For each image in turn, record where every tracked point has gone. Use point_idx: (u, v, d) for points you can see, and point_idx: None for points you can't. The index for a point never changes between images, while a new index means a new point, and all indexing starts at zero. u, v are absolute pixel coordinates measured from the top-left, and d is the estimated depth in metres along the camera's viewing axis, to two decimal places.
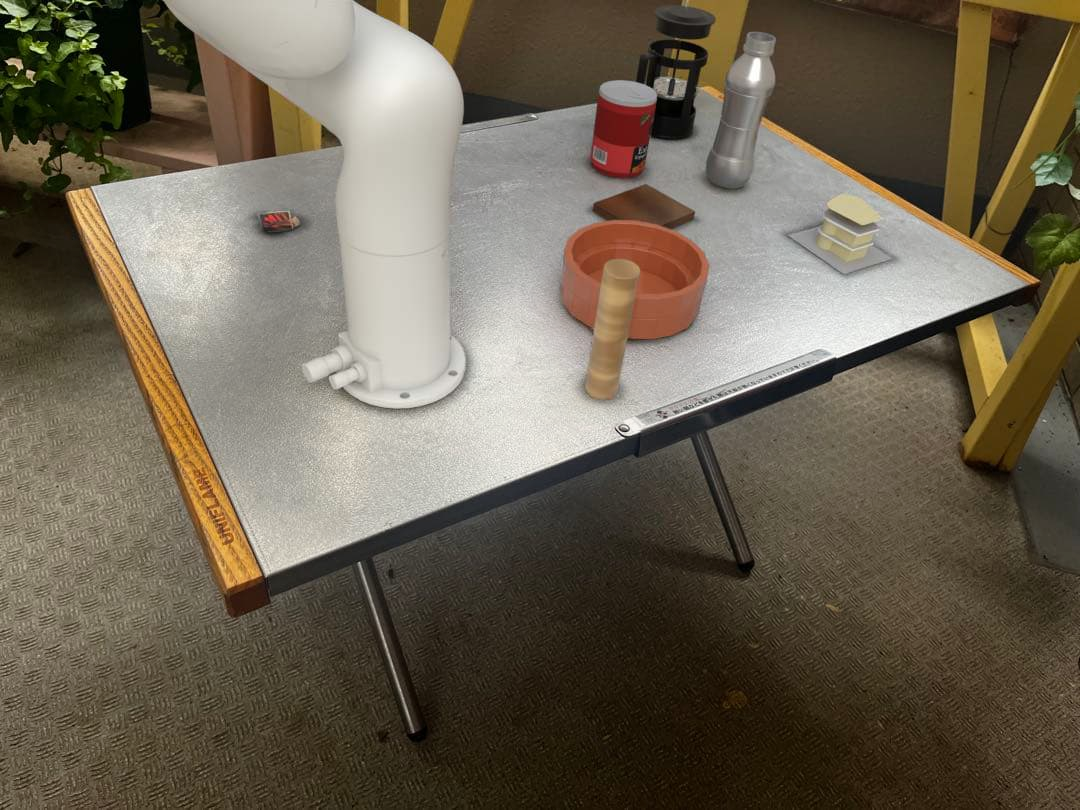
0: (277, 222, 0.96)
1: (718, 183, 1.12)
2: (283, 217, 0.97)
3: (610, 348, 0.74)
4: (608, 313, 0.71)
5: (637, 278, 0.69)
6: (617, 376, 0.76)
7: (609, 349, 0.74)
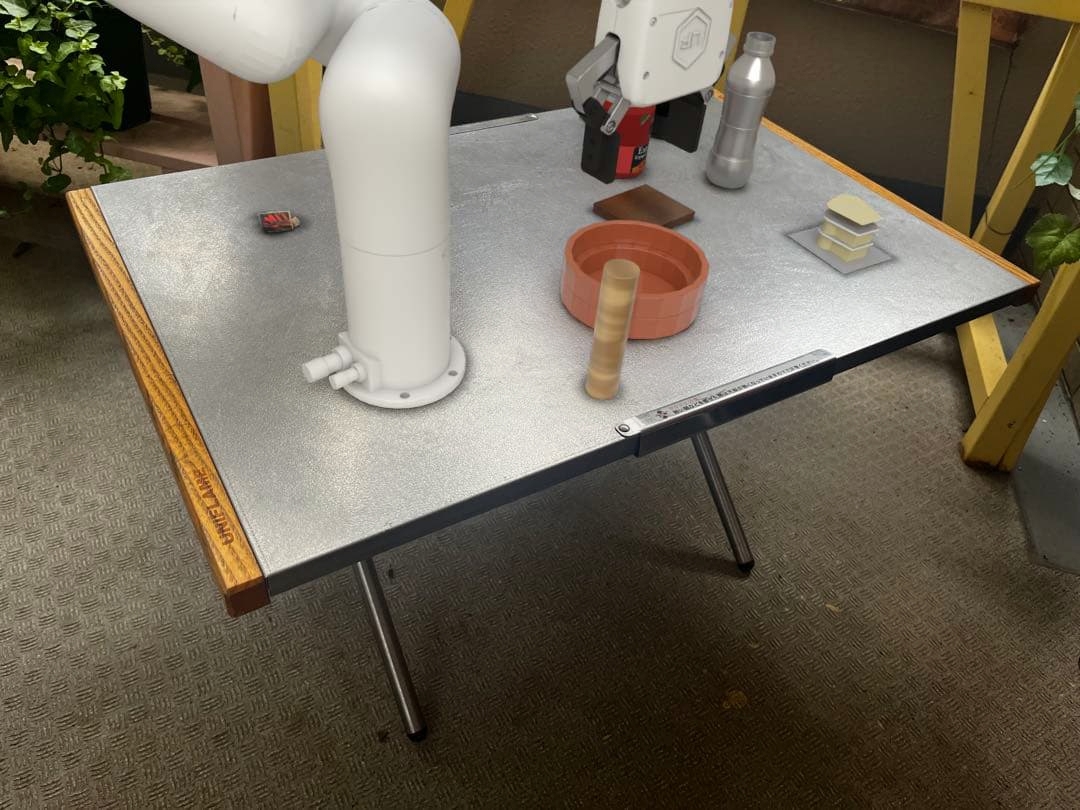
0: (277, 222, 0.96)
1: (718, 183, 1.12)
2: (283, 217, 0.97)
3: (610, 348, 0.74)
4: (608, 313, 0.71)
5: (637, 278, 0.69)
6: (617, 376, 0.76)
7: (609, 349, 0.74)
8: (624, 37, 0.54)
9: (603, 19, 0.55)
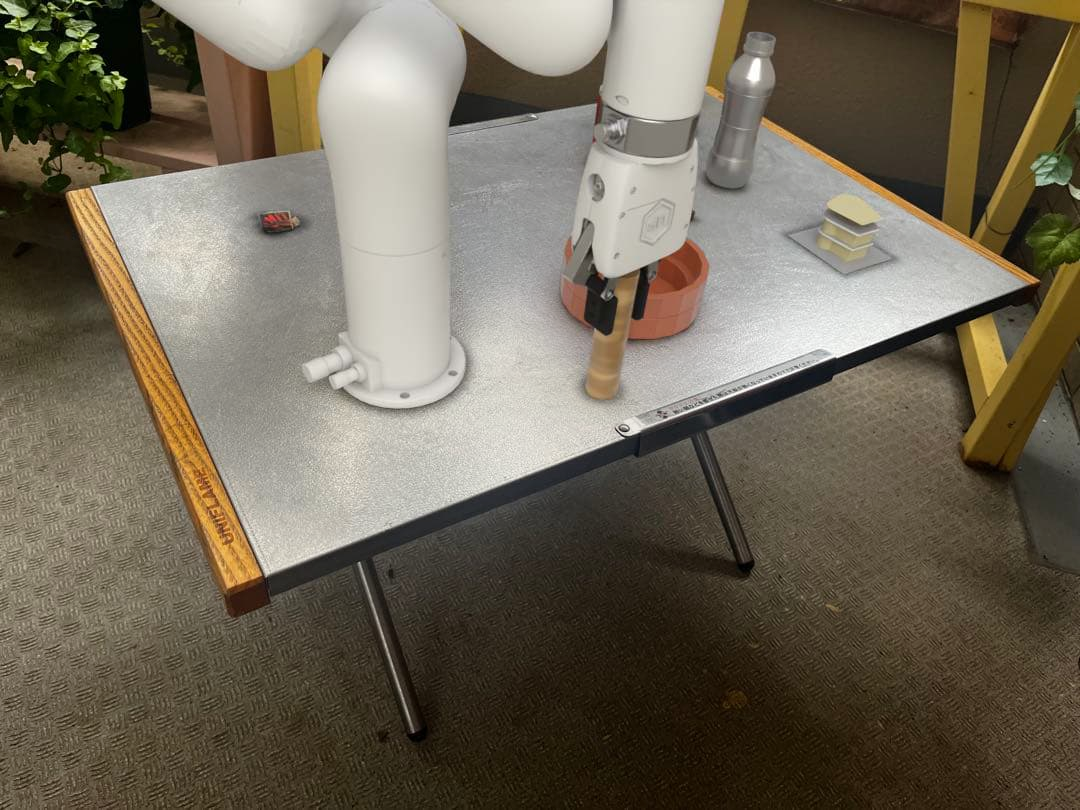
0: (277, 222, 0.96)
1: (718, 183, 1.12)
2: (283, 217, 0.97)
3: (610, 348, 0.74)
4: None
5: (637, 278, 0.69)
6: (617, 376, 0.76)
7: (609, 349, 0.74)
8: (597, 225, 0.62)
9: (580, 206, 0.63)
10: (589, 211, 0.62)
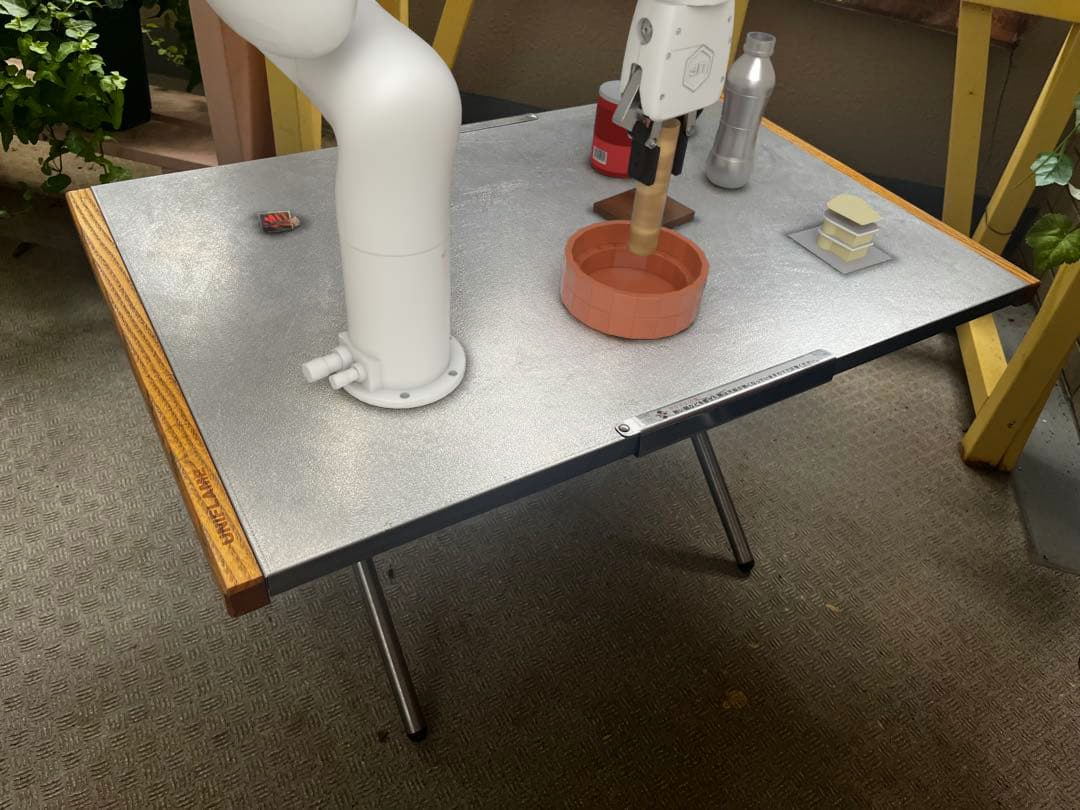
0: (277, 222, 0.96)
1: (718, 183, 1.12)
2: (283, 217, 0.97)
3: (651, 202, 0.81)
4: None
5: (678, 129, 0.76)
6: (657, 231, 0.83)
7: (651, 202, 0.81)
8: (645, 67, 0.69)
9: (628, 53, 0.70)
10: (637, 55, 0.69)
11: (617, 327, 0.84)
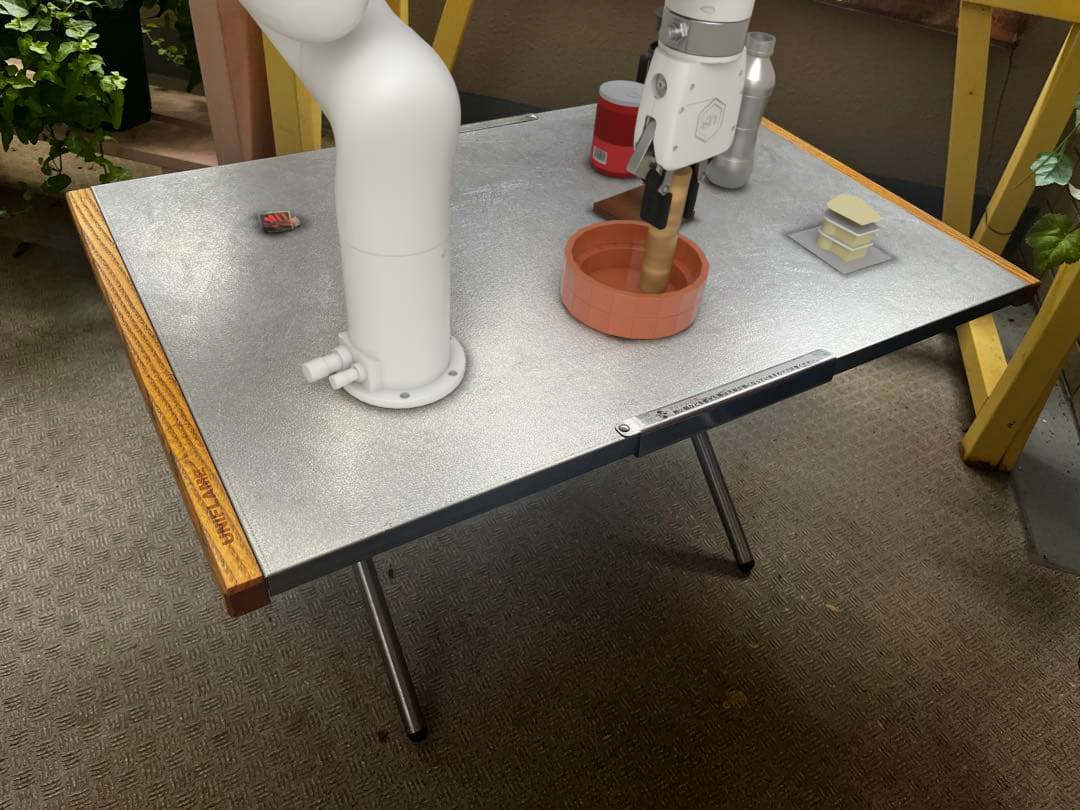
0: (277, 222, 0.96)
1: (718, 183, 1.12)
2: (283, 217, 0.97)
3: (663, 244, 0.83)
4: None
5: (690, 176, 0.79)
6: (667, 272, 0.86)
7: (662, 244, 0.83)
8: (659, 120, 0.72)
9: (643, 105, 0.73)
10: (652, 108, 0.72)
11: (617, 327, 0.84)
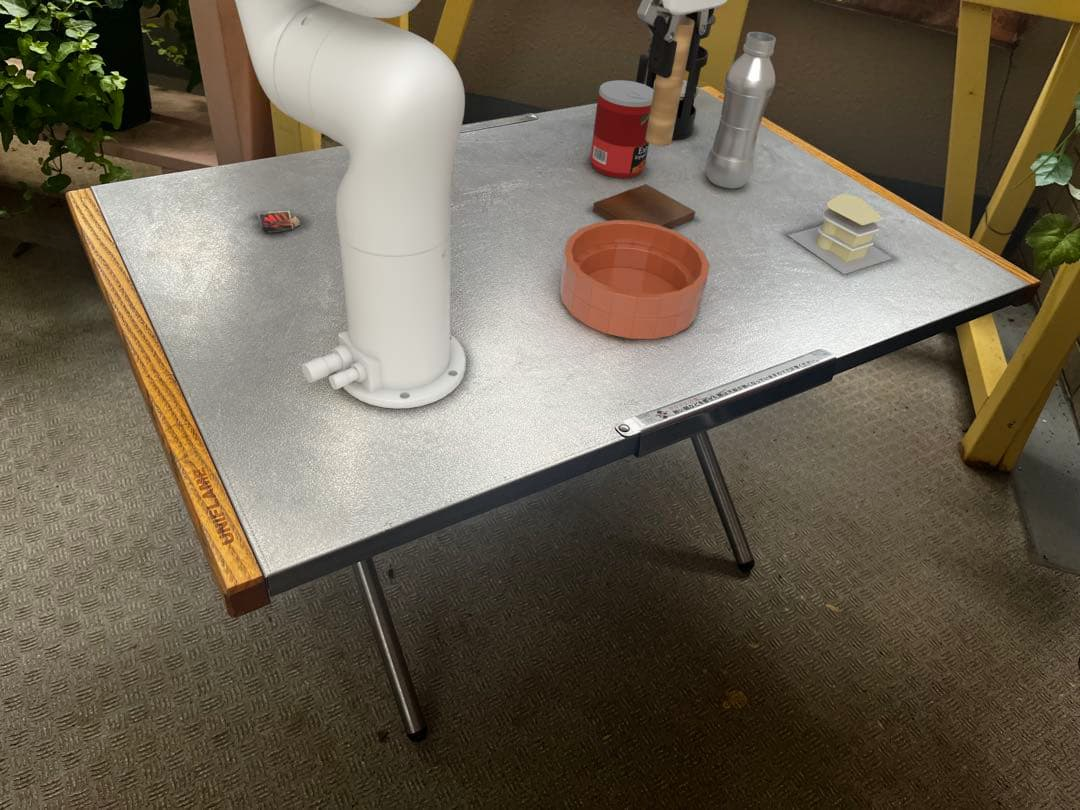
0: (277, 222, 0.96)
1: (718, 183, 1.12)
2: (283, 217, 0.97)
3: (668, 94, 0.93)
4: None
5: (692, 27, 0.89)
6: (672, 123, 0.96)
7: (668, 94, 0.93)
8: None
9: None
10: None
11: (617, 327, 0.84)
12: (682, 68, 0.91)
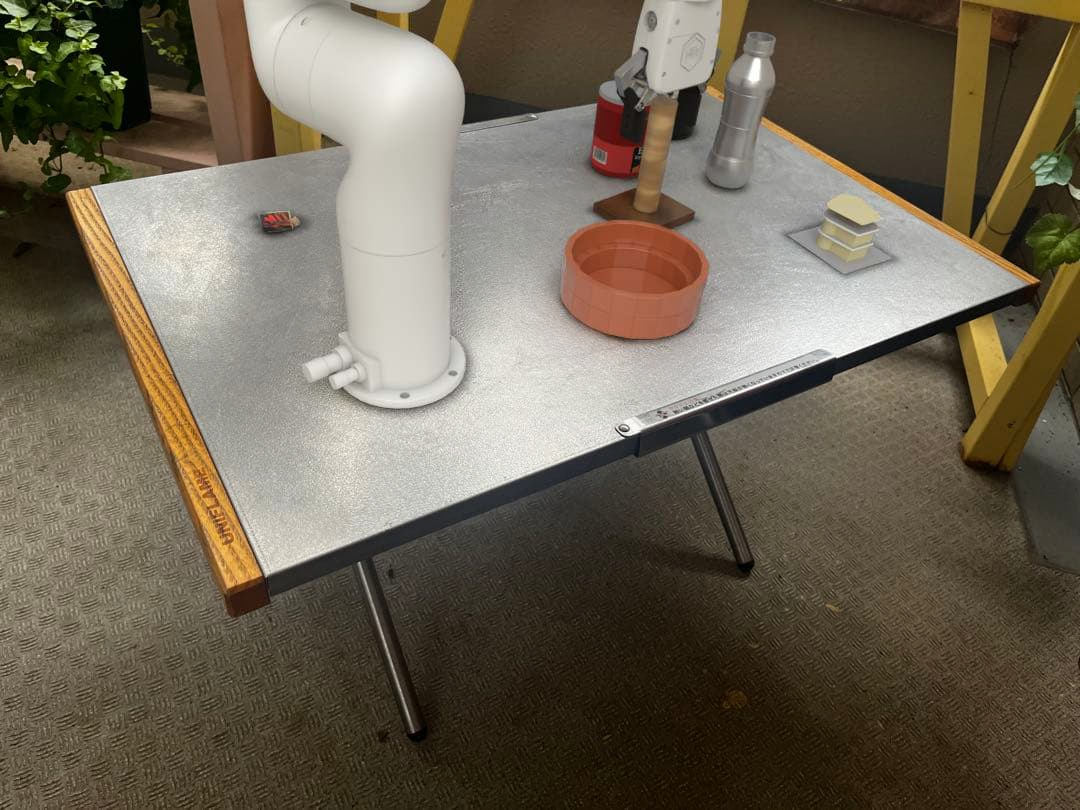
0: (277, 222, 0.96)
1: (718, 183, 1.12)
2: (283, 217, 0.97)
3: (654, 167, 1.00)
4: (654, 136, 0.97)
5: (676, 107, 0.95)
6: (658, 192, 1.02)
7: (653, 167, 1.00)
8: (651, 50, 0.88)
9: (637, 39, 0.89)
10: (645, 40, 0.88)
11: (617, 327, 0.84)
12: (667, 144, 0.98)
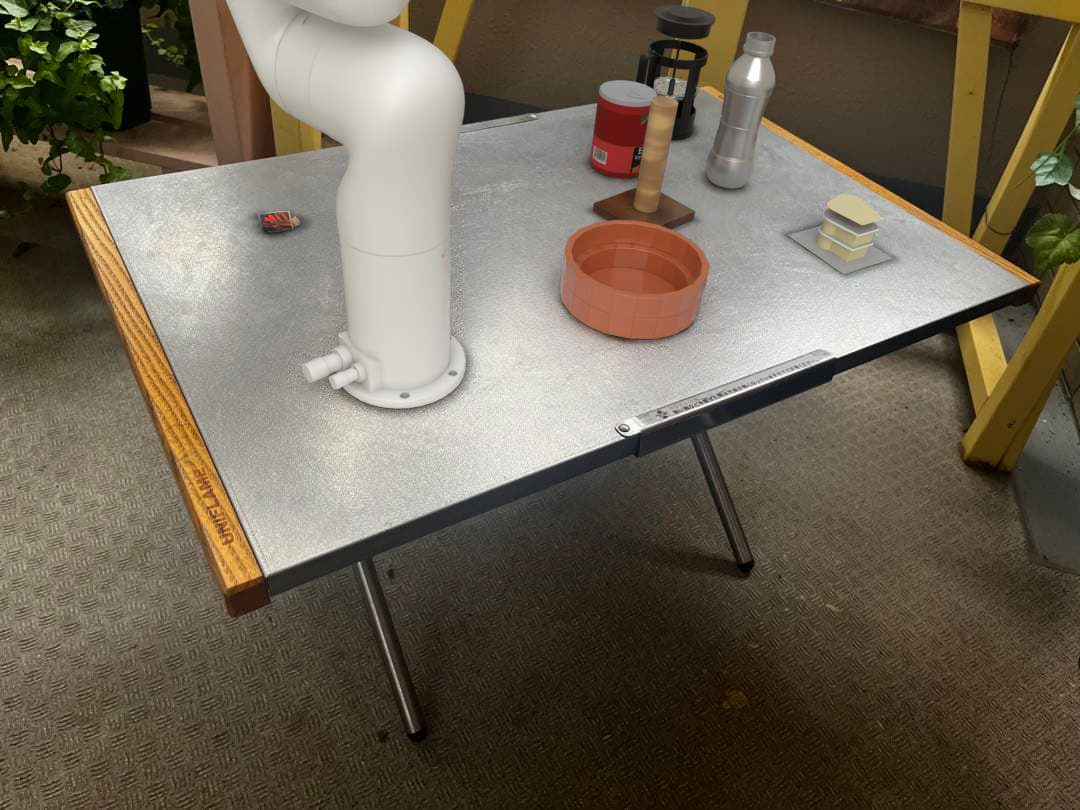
0: (277, 222, 0.96)
1: (718, 183, 1.12)
2: (283, 217, 0.97)
3: (654, 167, 1.00)
4: (654, 136, 0.97)
5: (676, 107, 0.95)
6: (658, 192, 1.02)
7: (653, 167, 1.00)
8: None
9: None
10: None
11: (617, 327, 0.84)
12: (667, 144, 0.98)
